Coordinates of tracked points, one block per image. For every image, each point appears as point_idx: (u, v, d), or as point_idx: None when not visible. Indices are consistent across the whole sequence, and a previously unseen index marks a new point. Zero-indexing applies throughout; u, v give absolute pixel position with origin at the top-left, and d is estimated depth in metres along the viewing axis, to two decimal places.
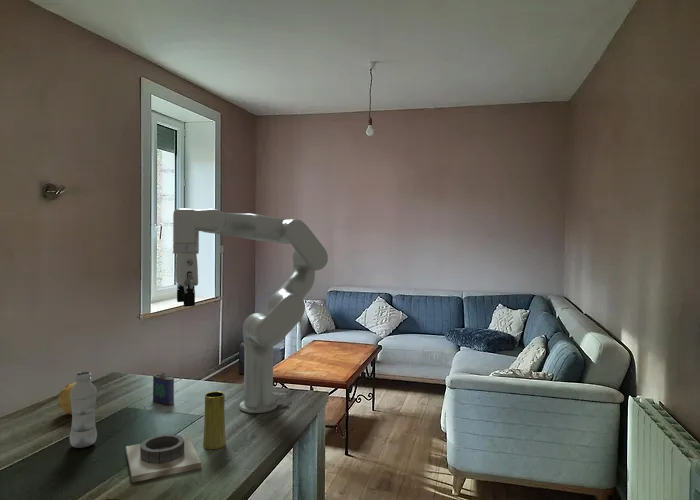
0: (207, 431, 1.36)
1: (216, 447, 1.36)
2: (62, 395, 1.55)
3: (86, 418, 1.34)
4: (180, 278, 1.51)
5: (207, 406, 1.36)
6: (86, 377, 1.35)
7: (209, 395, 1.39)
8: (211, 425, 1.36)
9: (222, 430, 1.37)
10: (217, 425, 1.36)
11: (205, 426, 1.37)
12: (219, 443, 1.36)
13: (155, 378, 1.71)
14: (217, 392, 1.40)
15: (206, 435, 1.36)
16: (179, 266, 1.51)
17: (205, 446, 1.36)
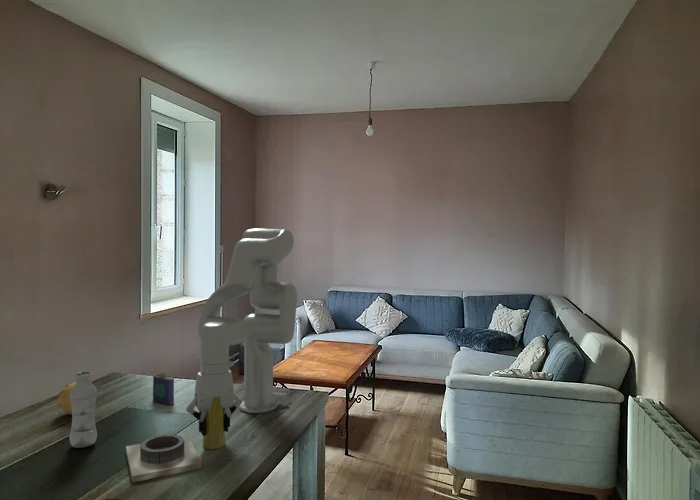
0: (207, 431, 1.36)
1: (216, 447, 1.36)
2: (62, 395, 1.55)
3: (86, 418, 1.34)
4: (227, 399, 1.37)
5: None
6: (86, 377, 1.35)
7: None
8: (211, 425, 1.36)
9: (222, 430, 1.37)
10: (217, 425, 1.36)
11: None
12: (219, 443, 1.36)
13: (155, 378, 1.71)
14: None
15: (206, 435, 1.36)
16: (225, 387, 1.37)
17: (205, 446, 1.36)
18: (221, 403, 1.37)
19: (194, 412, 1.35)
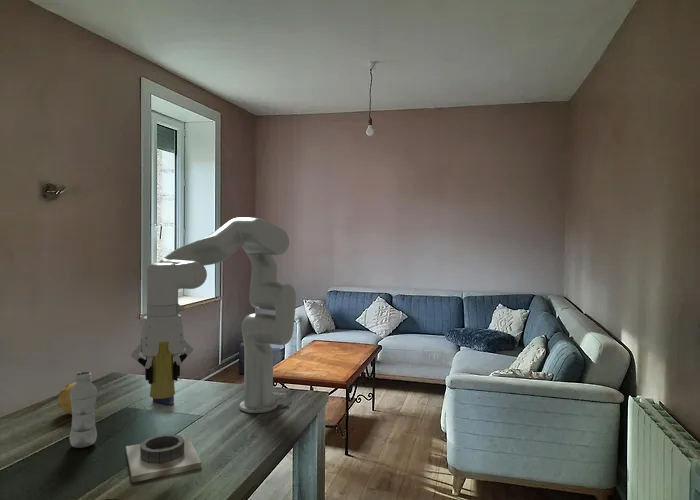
0: (154, 379, 1.26)
1: (163, 396, 1.26)
2: (62, 395, 1.55)
3: (86, 418, 1.34)
4: (176, 346, 1.28)
5: None
6: (86, 377, 1.35)
7: None
8: (158, 372, 1.26)
9: (170, 378, 1.27)
10: (164, 372, 1.26)
11: (152, 374, 1.27)
12: (167, 392, 1.26)
13: None
14: None
15: (152, 383, 1.26)
16: (173, 332, 1.27)
17: (151, 395, 1.26)
18: (169, 349, 1.27)
19: (139, 358, 1.25)
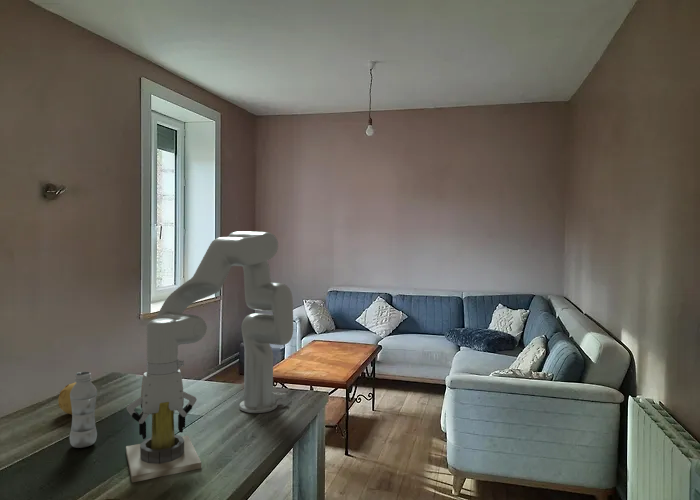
0: (154, 439, 1.27)
1: None
2: (62, 395, 1.55)
3: (86, 418, 1.34)
4: (176, 402, 1.28)
5: None
6: (86, 377, 1.35)
7: None
8: (158, 433, 1.26)
9: (170, 438, 1.28)
10: (165, 433, 1.27)
11: (152, 434, 1.28)
12: None
13: None
14: None
15: (153, 443, 1.27)
16: (173, 388, 1.27)
17: None
18: (169, 405, 1.27)
19: (134, 413, 1.25)
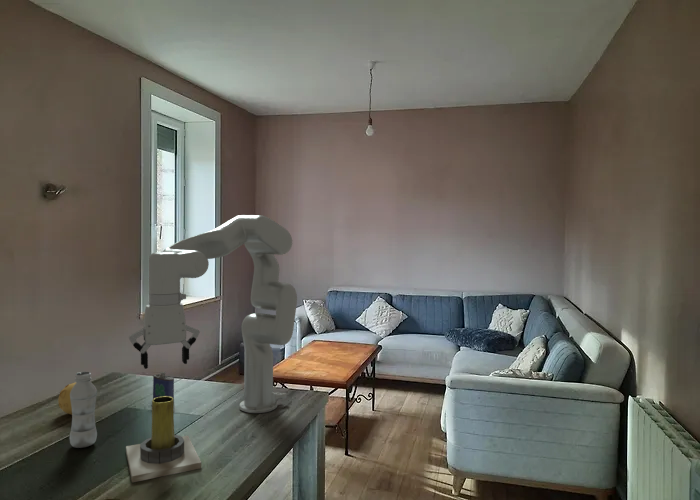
0: (154, 439, 1.27)
1: None
2: (62, 395, 1.55)
3: (86, 418, 1.34)
4: (178, 334, 1.29)
5: (154, 412, 1.27)
6: (86, 377, 1.35)
7: (157, 400, 1.30)
8: (158, 433, 1.26)
9: (170, 438, 1.28)
10: (165, 432, 1.27)
11: (152, 433, 1.28)
12: None
13: (155, 378, 1.71)
14: (166, 397, 1.31)
15: (153, 443, 1.27)
16: (176, 320, 1.29)
17: None
18: (172, 337, 1.28)
19: (135, 343, 1.26)
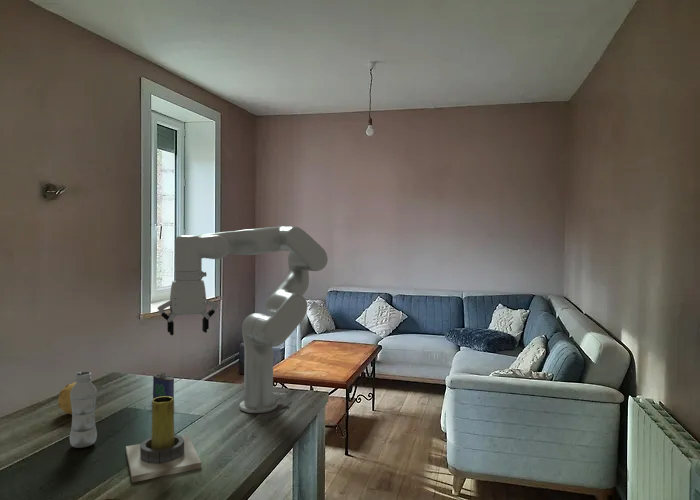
0: (154, 439, 1.27)
1: None
2: (62, 395, 1.55)
3: (86, 418, 1.34)
4: (200, 306, 1.50)
5: (154, 412, 1.27)
6: (86, 377, 1.35)
7: (158, 400, 1.30)
8: (158, 433, 1.26)
9: (171, 438, 1.28)
10: (165, 432, 1.27)
11: (152, 433, 1.28)
12: None
13: (155, 378, 1.71)
14: (167, 397, 1.31)
15: (153, 443, 1.27)
16: (197, 294, 1.49)
17: None
18: (194, 309, 1.49)
19: (163, 312, 1.46)
